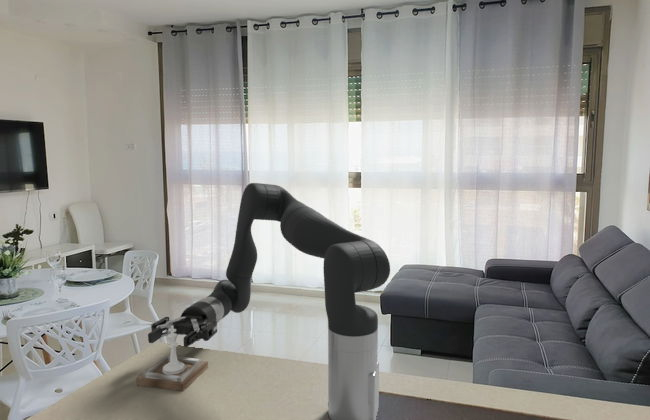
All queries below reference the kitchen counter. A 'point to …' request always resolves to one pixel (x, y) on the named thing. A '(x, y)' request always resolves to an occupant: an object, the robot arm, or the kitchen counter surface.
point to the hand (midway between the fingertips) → (167, 340)
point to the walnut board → (175, 381)
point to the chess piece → (173, 356)
